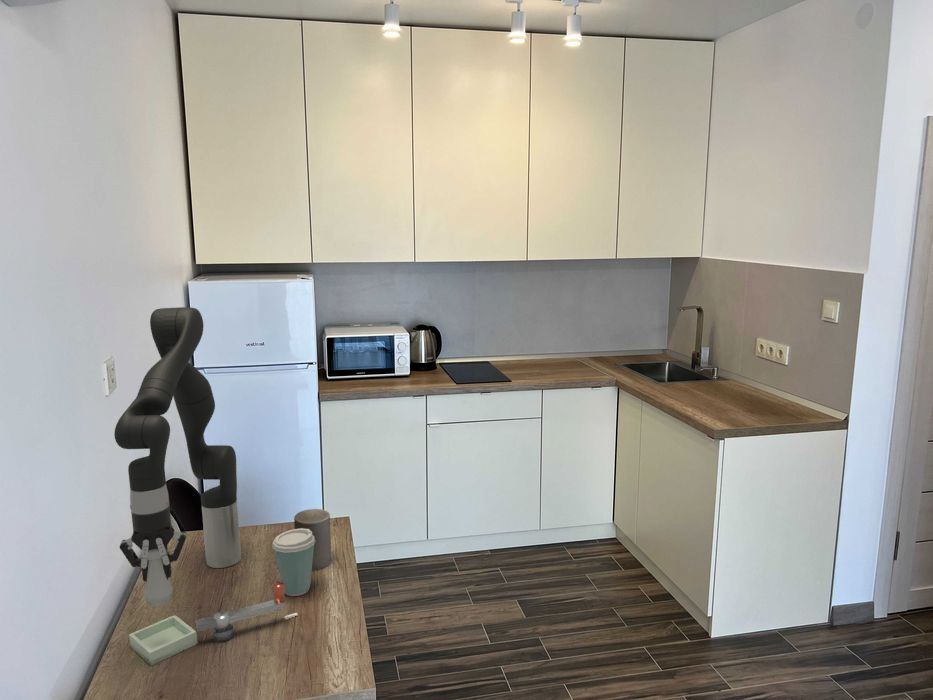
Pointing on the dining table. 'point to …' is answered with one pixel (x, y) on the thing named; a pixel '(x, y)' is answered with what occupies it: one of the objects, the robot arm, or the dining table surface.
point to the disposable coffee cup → (294, 560)
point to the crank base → (223, 635)
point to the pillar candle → (317, 534)
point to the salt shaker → (157, 581)
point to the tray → (163, 639)
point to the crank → (243, 612)
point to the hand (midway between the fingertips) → (157, 580)
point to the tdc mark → (290, 616)
